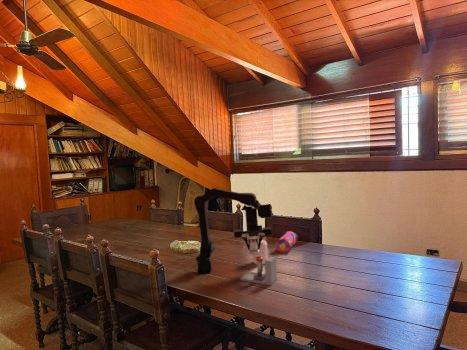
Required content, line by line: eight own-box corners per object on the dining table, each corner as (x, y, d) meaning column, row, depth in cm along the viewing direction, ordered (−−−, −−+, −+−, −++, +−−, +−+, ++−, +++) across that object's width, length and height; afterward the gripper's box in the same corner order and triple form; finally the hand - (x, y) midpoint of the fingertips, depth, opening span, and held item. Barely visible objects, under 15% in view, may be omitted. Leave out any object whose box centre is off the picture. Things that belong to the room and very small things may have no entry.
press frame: (240, 280, 157) (239, 257, 157) (255, 268, 172) (254, 248, 171) (271, 285, 149) (270, 261, 149) (284, 273, 164) (284, 251, 163)
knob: (247, 251, 168) (246, 237, 168) (259, 250, 169) (258, 236, 168) (248, 254, 163) (247, 240, 162) (260, 253, 163) (259, 239, 162)
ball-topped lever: (253, 278, 155) (252, 258, 154) (257, 275, 159) (256, 255, 158) (263, 280, 152) (262, 259, 152) (267, 277, 156) (266, 256, 156)
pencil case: (291, 254, 194) (290, 238, 194) (275, 253, 198) (275, 238, 198) (298, 244, 215) (297, 230, 214) (284, 243, 218) (283, 229, 218)
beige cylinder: (255, 266, 176) (254, 243, 175) (250, 261, 184) (250, 240, 183) (269, 264, 178) (269, 242, 178) (264, 259, 186) (263, 238, 185)
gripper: (233, 223, 157) (235, 255, 157) (272, 220, 157) (274, 252, 158) (232, 218, 168) (235, 249, 169) (269, 215, 168) (271, 246, 169)
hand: (253, 249), depth 166 cm, fingers closed on knob, 5 cm apart
